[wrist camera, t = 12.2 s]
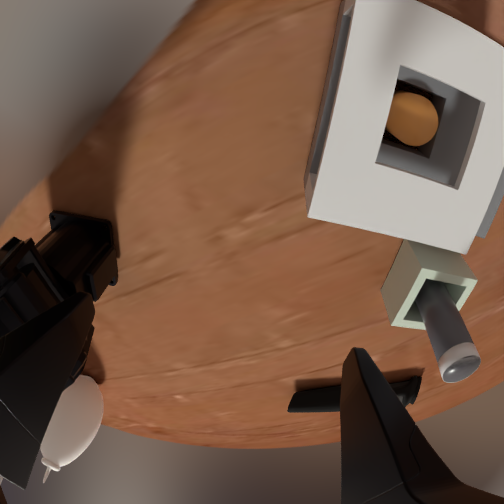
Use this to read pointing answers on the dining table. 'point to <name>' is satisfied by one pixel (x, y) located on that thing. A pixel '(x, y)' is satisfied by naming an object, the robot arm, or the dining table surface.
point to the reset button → (412, 118)
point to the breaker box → (399, 156)
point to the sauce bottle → (72, 424)
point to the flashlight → (447, 332)
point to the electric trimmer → (331, 397)
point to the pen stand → (423, 280)
